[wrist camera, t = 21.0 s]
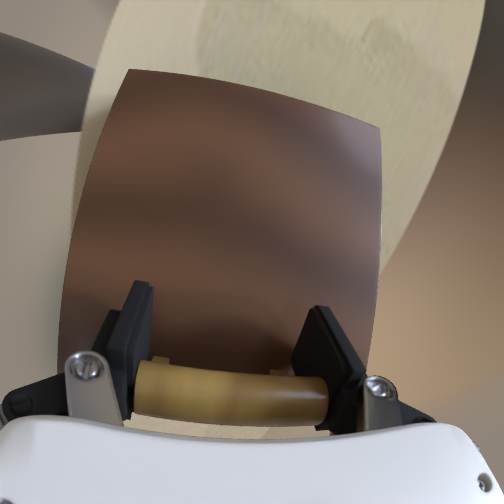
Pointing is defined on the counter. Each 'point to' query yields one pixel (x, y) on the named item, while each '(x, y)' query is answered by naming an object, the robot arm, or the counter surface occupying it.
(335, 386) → the robot arm
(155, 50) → the counter surface
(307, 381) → the lid
